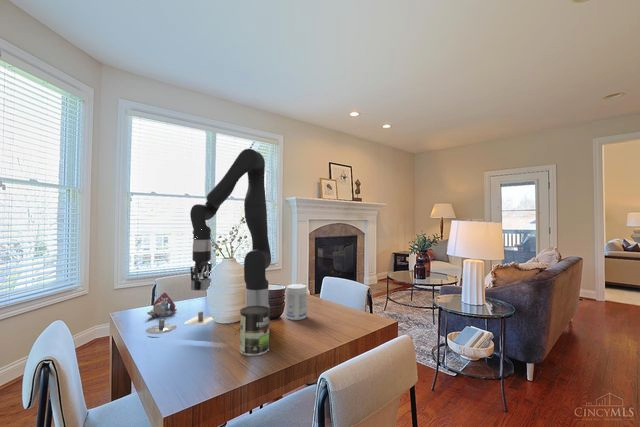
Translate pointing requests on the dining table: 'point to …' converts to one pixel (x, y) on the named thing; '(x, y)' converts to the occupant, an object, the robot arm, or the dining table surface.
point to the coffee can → (254, 330)
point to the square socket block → (202, 284)
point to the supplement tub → (296, 302)
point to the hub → (160, 328)
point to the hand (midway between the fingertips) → (201, 288)
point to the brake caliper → (162, 307)
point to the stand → (199, 319)
